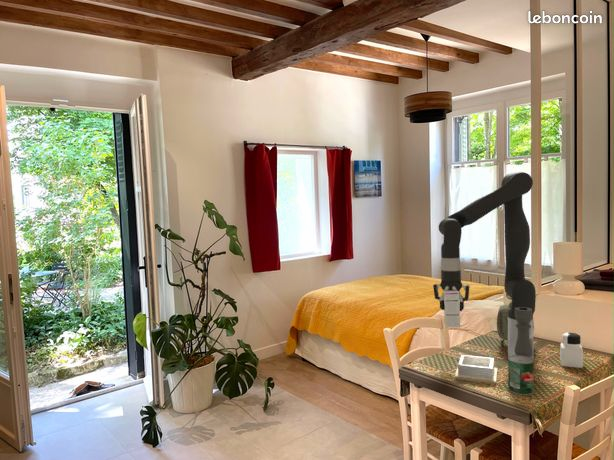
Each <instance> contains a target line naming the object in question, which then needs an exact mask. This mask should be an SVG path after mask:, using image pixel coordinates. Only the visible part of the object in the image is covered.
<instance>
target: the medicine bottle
mask: <svg viewBox="0 0 614 460" xmlns="http://www.w3.org/2000/svg"><path fill="white" fill-rule="evenodd" d="M559 345H560V349H559V350H560V351H559V352H560V355H559V356H560V358H559V359H560V363H561V366H562V367H568V368H569V367H570V368H578V369H583V368H584V350H583V347H582V345H581V335H580V334H578V333H576V332H565V333H563V334H562V342H561V343H560V344H559Z"/></svg>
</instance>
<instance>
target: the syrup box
mask: <svg viewBox="0 0 614 460" xmlns="http://www.w3.org/2000/svg"><path fill="white" fill-rule="evenodd" d="M459 291H460V290H459ZM459 291H454V290H448V291H444V299H443V300H444V310H443V312H444V325H445V327H446V328H461V311H460V300H459Z"/></svg>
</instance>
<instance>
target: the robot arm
mask: <svg viewBox="0 0 614 460" xmlns="http://www.w3.org/2000/svg"><path fill="white" fill-rule="evenodd" d="M533 184H534V181H533V177H532V176H531V174H529V173H527V172H523V171H516V172H510V173H507V174H506V175H504V176H503V178H502V180H501V185H500V187H498V188H497V189H495V190H493V191H492V192H490V193H488V194H486V195H484V196H483V195H482V196H481V197H479V198H477V199H476V200H474V201H473V202H470V203H469V204H467V205H465V206H464V207H463V208H462V209H460V210H458V211H456V212H454V213H452V214H450V215H448V216H446V217H445V218H443V219H442V220H441V221H440V222H439V224H438V231H439V233H440V234H441V235H443V243H442V244H441V246H440V247H441V248H440V251H441V252H440V253H441V254H440V256H441V257H440V258H441V259H440V275H441V276H440V278H441V280H440V281H441V282H440V283H434V284H433V285H432V287H433V292H434V294H433V295H434V299H435V300H438V301H439V309H441V311H444V291H448V290H454V291H459V304H460V312H463V311H464V309H465V302H466V301H468V300H469V298H470V297H469V296H470V286H471V285H470V284H463V283H462V269H461V268H462V263H461V258H460V256H461V253H460V252H461V251H460V244H461V240H462V228H464V227H466V226H470V225H472V224H474V223H475V222H477V221H479V220H480V219H482V218H484V217H485V216H486V215H488V214H489V213H491V212H493V211H494V210H496V209H497V208H499V207H501V206H502V205H503V209H504V214H503V215H504V217H503V221H504V249H505V250H504V251H505V252H504V254H505V255H504V256H505V274H504V292H505V293H506V294H507V296H508V297H509V298H512V300H511V301H512V307H511V309H509V310H508V340H507V358H508V357H509V356H512V355H516V354H515V351H514V349H515V345H516V341H517V337H518V329H517V327H516V324H517V323H518V322H517V320H516V318H515V308H517V307H526V308H531V309H532V319H531V321H530V323H529V324H530V325H531V328H530V329H529V338H530V342H531V346H532V350H533V351H534V330H533V322H534V313H535V311H536V299H537V297H536V295H537V292H536V287H535V285H534V283H533V282H532V281H531V280H529V279H527V278H526V277H525V262H526V259H527V256H528V253H529V249H530V245H531V238H530V237H531V232H530V225H529V221H528V220H527V217H526V214H525V210H524V208H523V195H525V194H529V192H530V190H531V189H532V188H533ZM440 288H441V290H442V293H441V296H440V294H439V289H440ZM462 288H463V291H465V292H464V293H465V294H464V296H463V294H462V293H461V289H462ZM506 294H505V295H506ZM530 358H532V359H533V360H534V353H533V354H532V356H531V357H530Z"/></svg>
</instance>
